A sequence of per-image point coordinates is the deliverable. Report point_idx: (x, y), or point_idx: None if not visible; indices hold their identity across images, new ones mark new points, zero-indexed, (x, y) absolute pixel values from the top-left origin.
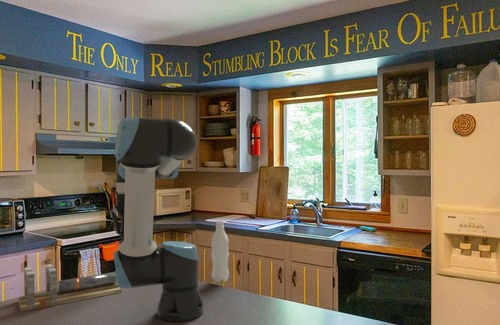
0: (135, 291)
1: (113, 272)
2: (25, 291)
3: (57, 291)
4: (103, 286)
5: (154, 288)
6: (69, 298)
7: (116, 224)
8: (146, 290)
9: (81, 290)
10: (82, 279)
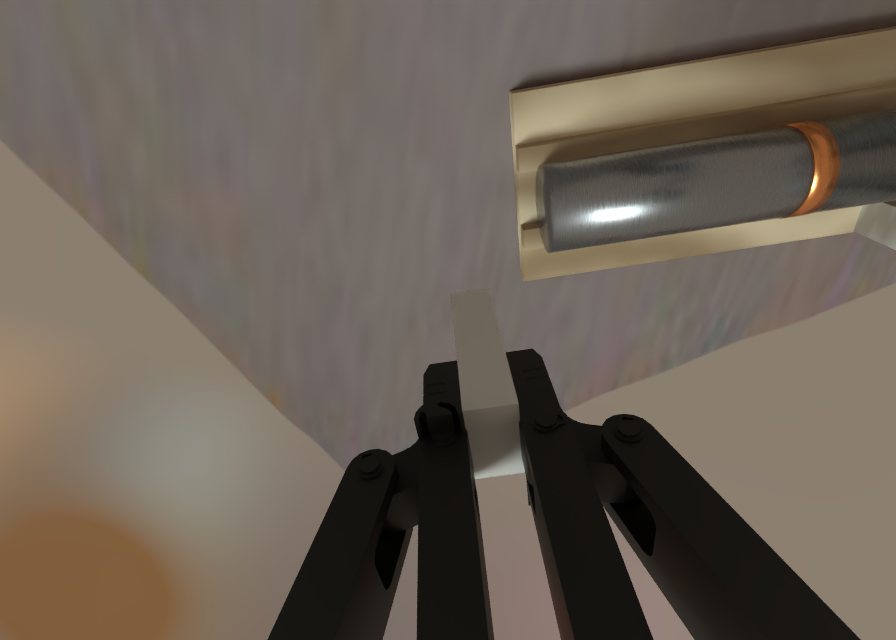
0: (421, 66)
1: (560, 222)
2: None
3: None
4: None
5: (290, 71)
6: (844, 48)
7: (780, 580)
8: (348, 50)
9: None
10: (788, 160)
